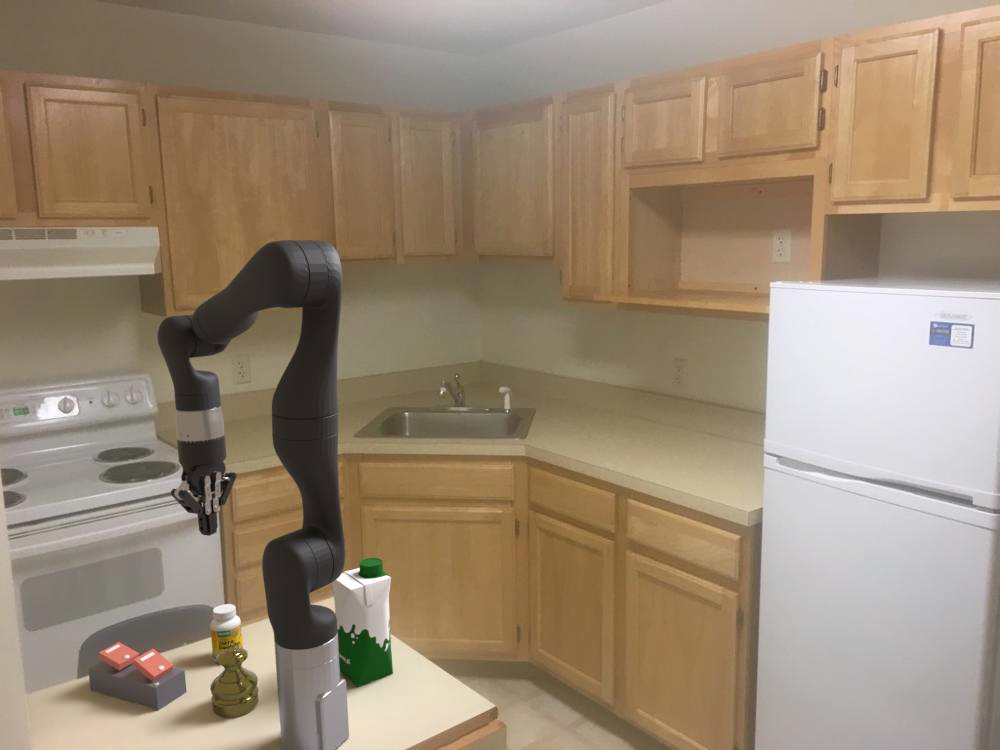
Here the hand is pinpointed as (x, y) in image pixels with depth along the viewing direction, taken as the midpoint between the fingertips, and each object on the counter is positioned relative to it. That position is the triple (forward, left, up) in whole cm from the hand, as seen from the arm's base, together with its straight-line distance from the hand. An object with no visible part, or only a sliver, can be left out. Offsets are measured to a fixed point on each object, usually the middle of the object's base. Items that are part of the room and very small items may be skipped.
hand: (209, 533), depth 134 cm
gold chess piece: (-8, +5, -27) cm, 29 cm away
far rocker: (+15, +8, -22) cm, 27 cm away
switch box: (+11, +8, -27) cm, 30 cm away
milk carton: (-22, -12, -27) cm, 37 cm away
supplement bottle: (+5, -7, -27) cm, 29 cm away
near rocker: (+7, +8, -22) cm, 24 cm away
